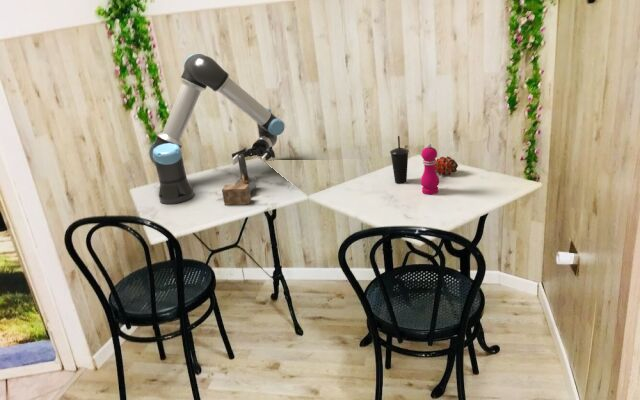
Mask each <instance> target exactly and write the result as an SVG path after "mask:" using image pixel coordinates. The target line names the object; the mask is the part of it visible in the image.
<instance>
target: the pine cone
mask: <svg viewBox="0 0 640 400" xmlns="http://www.w3.org/2000/svg"><path fill="white" fill-rule="evenodd" d="M458 167H459V164H458V163H457V162H456V160H455V159H454V158H452V157H450V156H446V157H444V156H440V157H439V158H436V163H435V171H436V173H437V174H439V175H441V176H442V177H444V176H446V175H447V176H450V175H452V174H453V173H456V172H457V171H458Z"/></svg>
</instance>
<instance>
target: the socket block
mask: <svg viewBox="0 0 640 400" xmlns="http://www.w3.org/2000/svg"><path fill="white" fill-rule="evenodd" d="M221 192H222V197H223V203H224V206H244V205H245V206H246V205H249V203H250V202H251V201H252V198H251V197H252V195H251V196H250V190H249V185H248V184H246V185H235V184H226V185H224V187H222V189H221Z"/></svg>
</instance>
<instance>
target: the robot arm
mask: <svg viewBox="0 0 640 400" xmlns="http://www.w3.org/2000/svg"><path fill="white" fill-rule="evenodd" d="M180 79H181V83H182V84H181V86H180V89H179V91H178V94H177V96H176V99H175V101H174V102H173V106H172V108H171V111H170V113H169V115H168V118H167V120H166V123H165V125H164V128H163V130H162V132H161V133H158V134H157V136H156V138H155V141H154V142H153V143H151V145H150V147H149V150H148V155H149V159H150V161H151V162H152V164H153V165H154V167H155V169H156V173H157V178H158V182H159V191H158V199H159V202H160V203H162V204H166V205H172V204H175V205H176V204H179V203H183V202H186V201H189V200H190V199H192V198H194V196H195V191H194V188H193V186H192V185H191V183H190V181H189V179H188V178H187V173H186V169H185V164H184V160H183V159H184V158H183V153H182V150H181V149H182V147H183V143H182V138H183V135H184V134H185V131H186V128H187V126H188V123H189V121H190V118H191V116H192V113H193V112H194V109H195V106H196V104H197V102H198V100H199V97H200V95H201V92H202V91H205V90H206V89H207V87H208V88H209V89H211V90H212V91H213V92H215V93H216V92H218V93H220V94H221V95H222V96H223V97H224V98H226V99H227V100H229V101H230V102H231V103H232V104H233V105H235V106H236V107H237V108H239V110H241V111H242V112H244V113H245V114H246V116H249V117H250V118H251V119H252V120H253V121H255V122H256V124H257V131H258V137H259V138H258V139H257V140H255V142H253V144H252V147H251V148H247V147H244V148H242V149H241V150H239V151H236V152H233V153H232V154H231V161H232V165H233V166H235V165H236V164H237V163H239V161H238V155H240V154H244V155H245V158H247V157H250V158H251V157H253V156H256V157H261V164H262V165H265V163H266V162H267V161H269V160H270V159H271V158H272V159H275V158H276V155H275V151H274V149H273V147H274V146H275V145H276V144H277V141H278V136H279V135H282V134H283V132H284V131H285V128H286V127H285V123H284V122H283V121H282V120H281V118H278V117H277V116H275V115H274V114H273V113H272V109H271V108H269V107H265V106H264V105H262V104H261V103H260V102H258V101H257V100H256V99H255V98H254V97H253V96H252V95H250V94H249V93H248V92H247V91H246V90H244V89H243V88H242V87H241V86H239V85H238V84H237V82H235V81H234V80H233V79H231V77H230V74H229V73H228V72H227V71H226V70H225V69H223V67H222V66H220V65H219V63H218V62H216V60H214V59H213V58H212V57H210V56H207V55H206V54H202V53H193V54H191V55H189V56H188V57H186V59H185V61H184V64H183V71H182V74H181V77H180Z"/></svg>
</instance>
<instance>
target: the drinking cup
mask: <svg viewBox="0 0 640 400" xmlns="http://www.w3.org/2000/svg"><path fill="white" fill-rule="evenodd" d="M400 140H401V139H400V135H397V147H396V148H393V149H392V150H390V151H389V154H390V157H391V164H392V170H393V177H394V178H393V179H394V183H395V184H396V185H397V184H398V185H404V184H406V183H407V180H408V162H409V159H408V158H409V153H410V150H409V149H408V148H404V147H401V142H400Z"/></svg>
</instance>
